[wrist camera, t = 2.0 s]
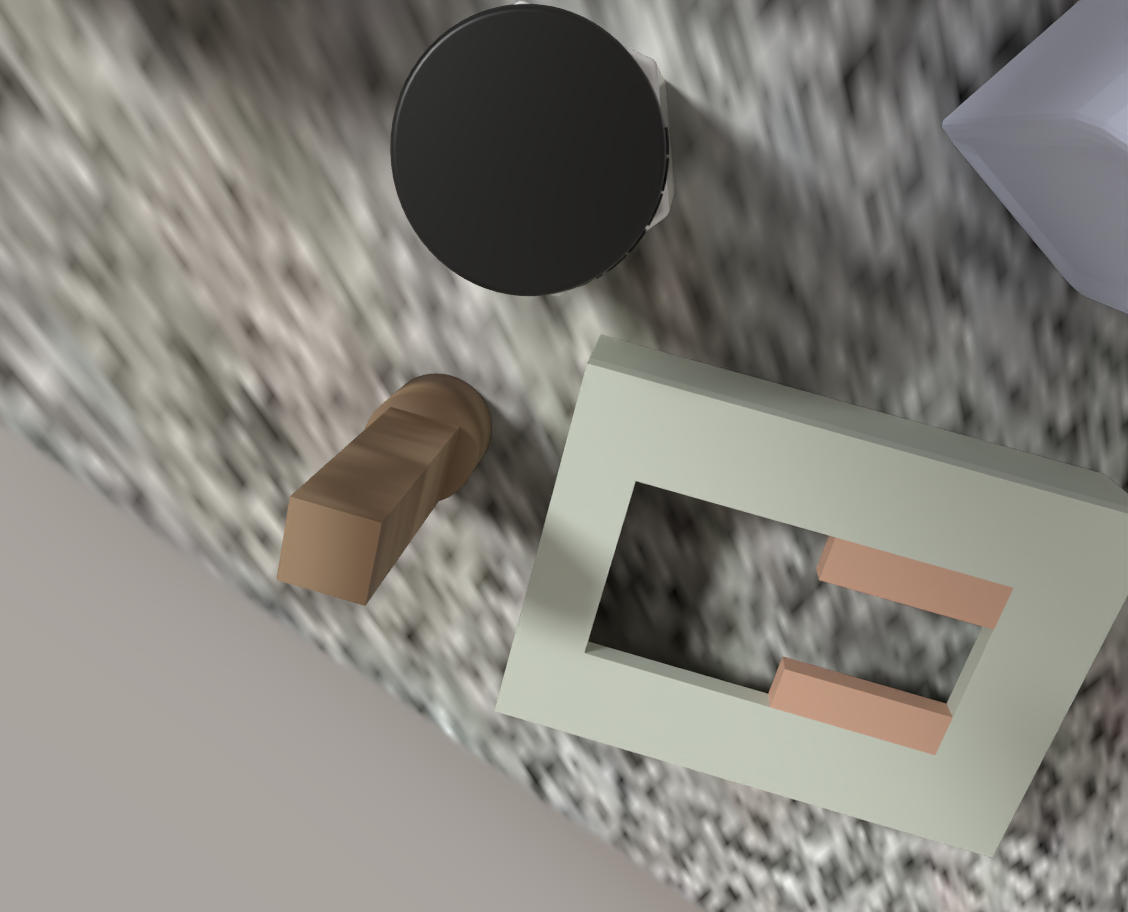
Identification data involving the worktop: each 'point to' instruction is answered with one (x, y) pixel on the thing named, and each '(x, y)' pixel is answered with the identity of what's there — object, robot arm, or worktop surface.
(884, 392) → the worktop surface
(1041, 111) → the soap bottle
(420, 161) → the jar
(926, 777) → the keyhole box
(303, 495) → the bolt peg
